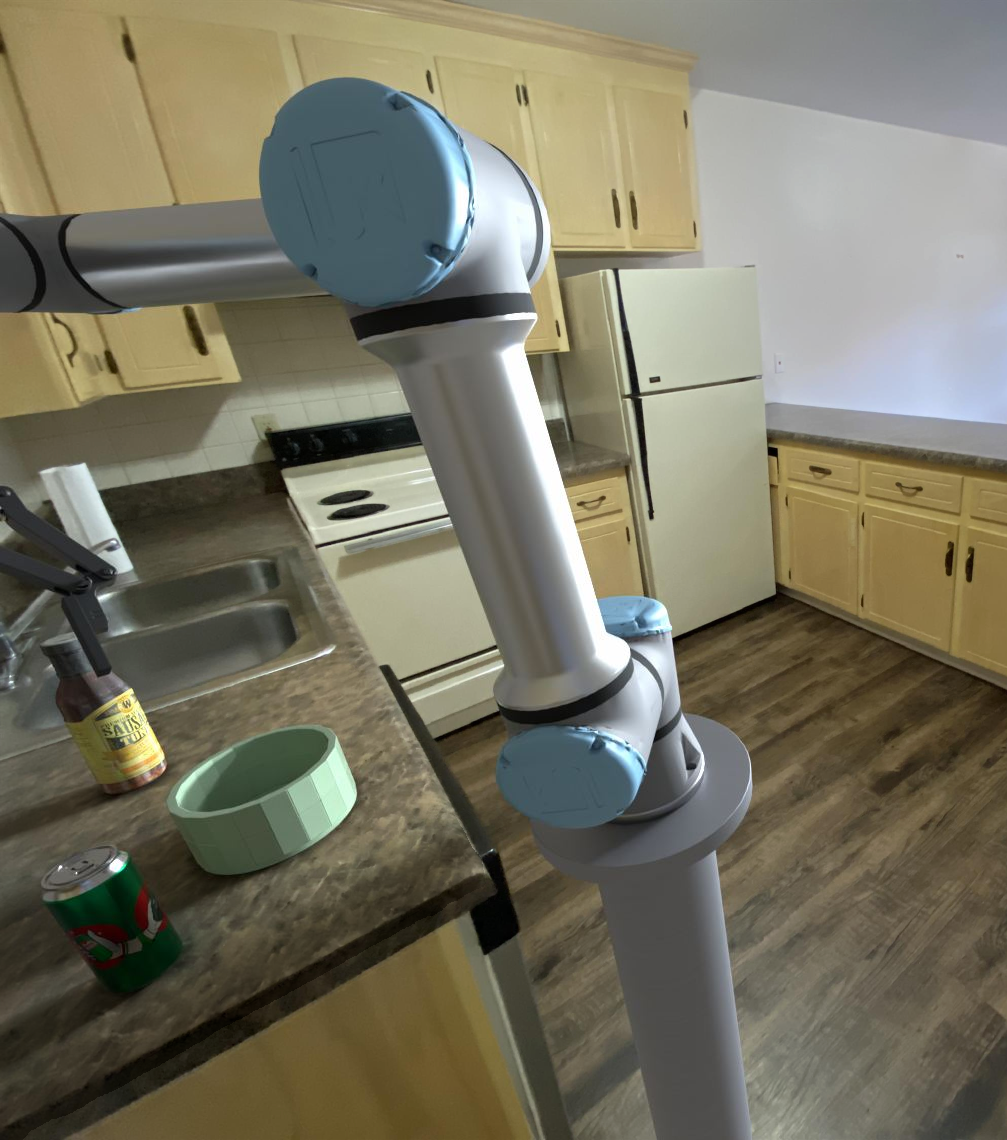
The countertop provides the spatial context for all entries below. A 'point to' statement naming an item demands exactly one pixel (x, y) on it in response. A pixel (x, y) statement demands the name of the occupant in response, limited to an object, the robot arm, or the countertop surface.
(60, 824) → the countertop surface
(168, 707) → the countertop surface
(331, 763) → the bowl
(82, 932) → the soda can
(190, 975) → the countertop surface
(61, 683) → the sauce bottle
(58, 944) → the countertop surface
